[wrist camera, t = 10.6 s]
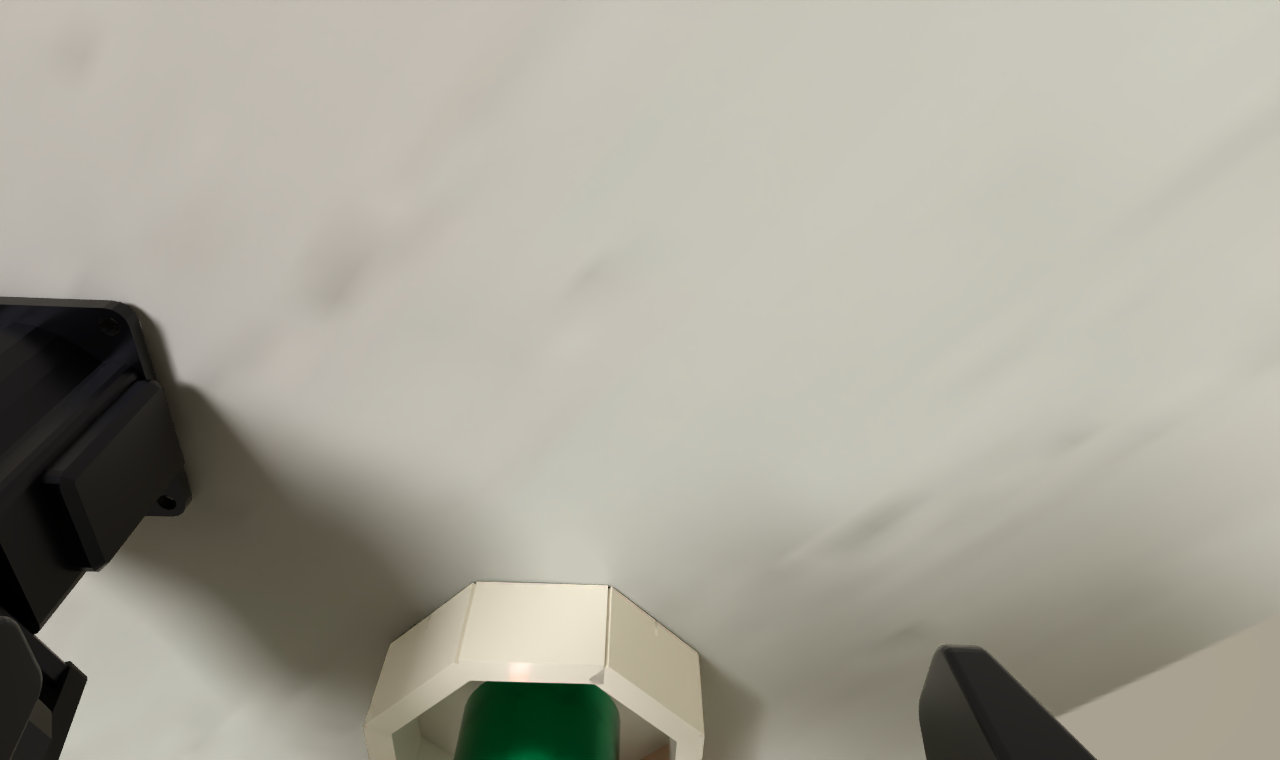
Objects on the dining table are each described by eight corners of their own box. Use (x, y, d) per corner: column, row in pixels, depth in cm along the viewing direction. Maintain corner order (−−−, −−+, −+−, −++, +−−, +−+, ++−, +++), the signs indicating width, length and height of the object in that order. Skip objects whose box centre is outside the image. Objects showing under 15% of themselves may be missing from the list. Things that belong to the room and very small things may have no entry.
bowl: (411, 778, 31) (390, 860, 28) (377, 578, 26) (348, 657, 23) (684, 785, 31) (688, 867, 28) (706, 588, 26) (713, 667, 23)
